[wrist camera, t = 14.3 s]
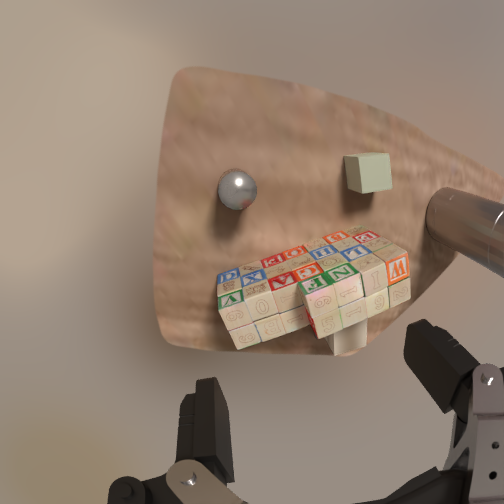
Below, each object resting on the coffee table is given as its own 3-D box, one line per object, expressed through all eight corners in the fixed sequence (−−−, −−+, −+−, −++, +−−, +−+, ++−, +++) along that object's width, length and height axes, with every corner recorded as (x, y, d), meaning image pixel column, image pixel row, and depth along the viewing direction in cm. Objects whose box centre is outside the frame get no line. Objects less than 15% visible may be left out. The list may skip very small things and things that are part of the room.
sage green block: (371, 152, 36) (388, 153, 32) (375, 183, 37) (392, 188, 33) (343, 155, 36) (358, 157, 31) (347, 188, 37) (362, 193, 33)
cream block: (350, 297, 42) (367, 318, 36) (350, 324, 44) (366, 345, 38) (319, 306, 42) (333, 328, 36) (321, 332, 43) (334, 355, 38)
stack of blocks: (232, 310, 41) (238, 367, 30) (216, 273, 39) (216, 324, 28) (367, 261, 41) (412, 299, 30) (361, 222, 39) (409, 252, 28)
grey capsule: (247, 165, 35) (252, 168, 29) (253, 196, 36) (260, 205, 31) (215, 172, 35) (214, 176, 29) (222, 203, 36) (222, 213, 30)
